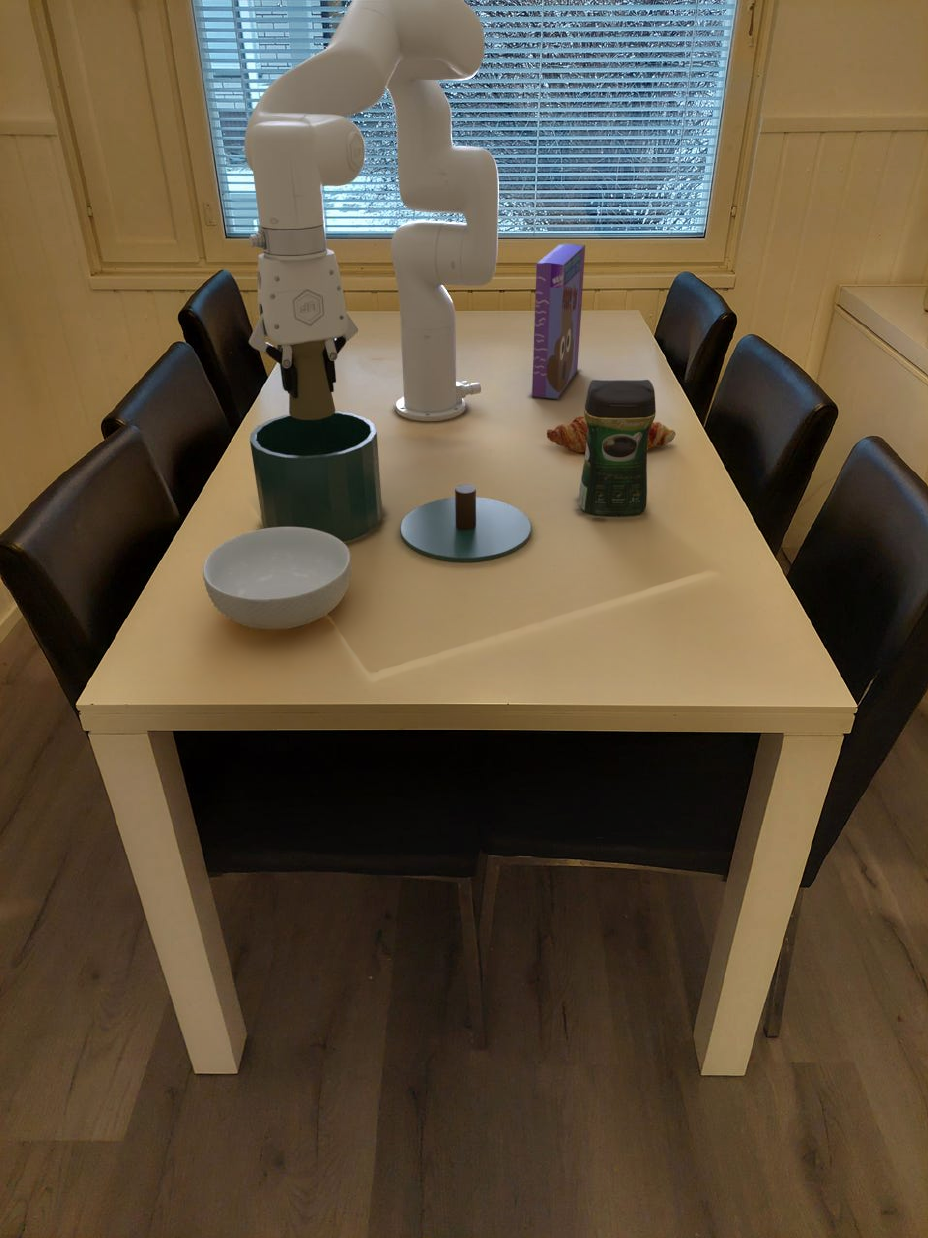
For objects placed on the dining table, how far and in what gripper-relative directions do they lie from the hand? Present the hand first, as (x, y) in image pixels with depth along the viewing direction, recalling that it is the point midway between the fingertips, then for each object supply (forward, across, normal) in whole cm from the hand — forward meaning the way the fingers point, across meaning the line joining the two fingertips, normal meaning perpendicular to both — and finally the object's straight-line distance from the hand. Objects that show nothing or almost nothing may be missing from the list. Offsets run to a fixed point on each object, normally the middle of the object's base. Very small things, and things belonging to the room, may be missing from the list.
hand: (310, 390), depth 114 cm
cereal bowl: (+19, -12, -20) cm, 30 cm away
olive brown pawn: (+3, 0, 0) cm, 3 cm away
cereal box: (+19, +59, +33) cm, 71 cm away
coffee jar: (+19, +38, -16) cm, 45 cm away
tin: (+19, 0, 0) cm, 19 cm away
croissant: (+19, +50, +2) cm, 54 cm away
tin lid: (+18, +16, -13) cm, 27 cm away
